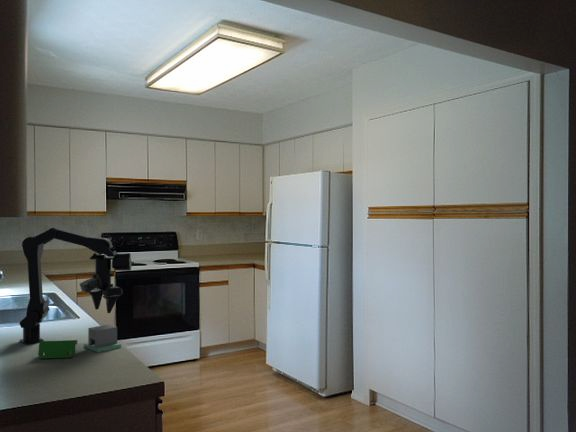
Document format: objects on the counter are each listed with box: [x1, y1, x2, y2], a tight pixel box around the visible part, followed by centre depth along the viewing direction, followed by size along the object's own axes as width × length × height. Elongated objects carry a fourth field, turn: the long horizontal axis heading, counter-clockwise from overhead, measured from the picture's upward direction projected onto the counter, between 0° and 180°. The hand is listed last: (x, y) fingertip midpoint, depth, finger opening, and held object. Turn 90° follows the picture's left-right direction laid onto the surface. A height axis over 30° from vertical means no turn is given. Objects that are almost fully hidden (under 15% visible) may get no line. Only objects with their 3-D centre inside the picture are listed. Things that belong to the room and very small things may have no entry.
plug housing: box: [87, 323, 118, 348], centre depth 183 cm, size 6×8×6 cm
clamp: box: [37, 339, 78, 359], centre depth 172 cm, size 12×6×9 cm, turn 95°
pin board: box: [83, 342, 122, 353], centre depth 183 cm, size 10×9×3 cm
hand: (102, 311), depth 193 cm, fingers open, 9 cm apart
